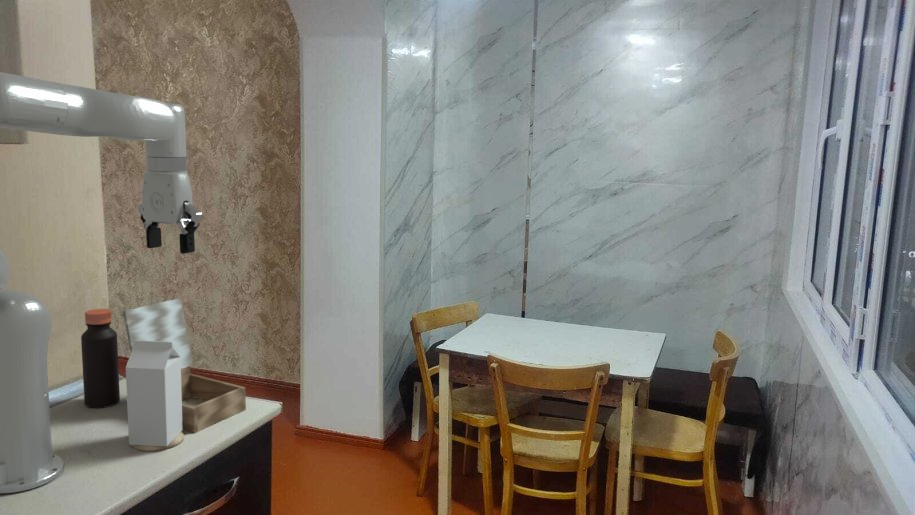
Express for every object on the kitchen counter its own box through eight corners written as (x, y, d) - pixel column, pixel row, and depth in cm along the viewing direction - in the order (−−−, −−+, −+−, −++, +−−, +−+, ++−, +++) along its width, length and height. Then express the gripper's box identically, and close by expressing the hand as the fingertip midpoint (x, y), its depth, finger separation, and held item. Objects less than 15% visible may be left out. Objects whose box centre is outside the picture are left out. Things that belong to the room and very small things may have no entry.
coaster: (155, 455, 126) (155, 452, 126) (121, 444, 130) (120, 441, 130) (193, 437, 134) (193, 434, 134) (160, 427, 138) (160, 424, 138)
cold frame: (194, 433, 136) (191, 325, 133) (127, 412, 145) (122, 310, 141) (245, 409, 149) (244, 310, 145) (181, 392, 157) (178, 297, 153)
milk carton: (167, 447, 129) (163, 347, 125) (128, 445, 129) (124, 346, 125) (182, 431, 136) (180, 336, 132) (146, 429, 136) (142, 335, 132)
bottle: (110, 409, 146) (106, 316, 143) (78, 408, 146) (72, 315, 143) (125, 397, 153) (122, 308, 149) (94, 396, 153) (90, 307, 149)
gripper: (121, 164, 141) (126, 248, 144) (182, 169, 133) (185, 257, 136) (153, 162, 147) (157, 243, 150) (212, 167, 139) (215, 252, 143)
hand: (170, 249), depth 143 cm, fingers open, 9 cm apart
